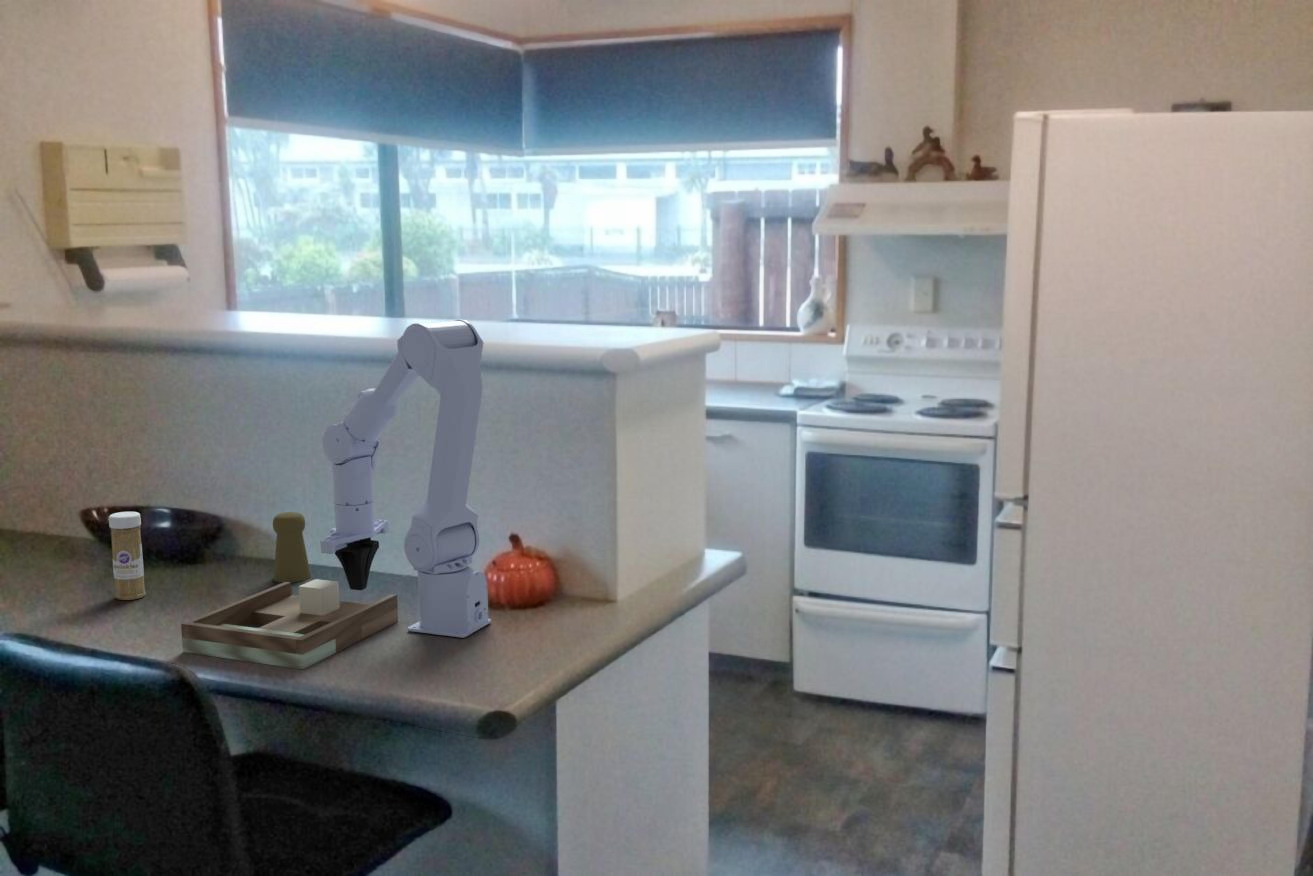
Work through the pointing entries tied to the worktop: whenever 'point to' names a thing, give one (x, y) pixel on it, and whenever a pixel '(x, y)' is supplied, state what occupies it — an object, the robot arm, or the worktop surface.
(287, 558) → the cork
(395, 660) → the worktop surface
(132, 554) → the sprinkles bottle
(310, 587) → the cream cube
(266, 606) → the box
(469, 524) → the robot arm
